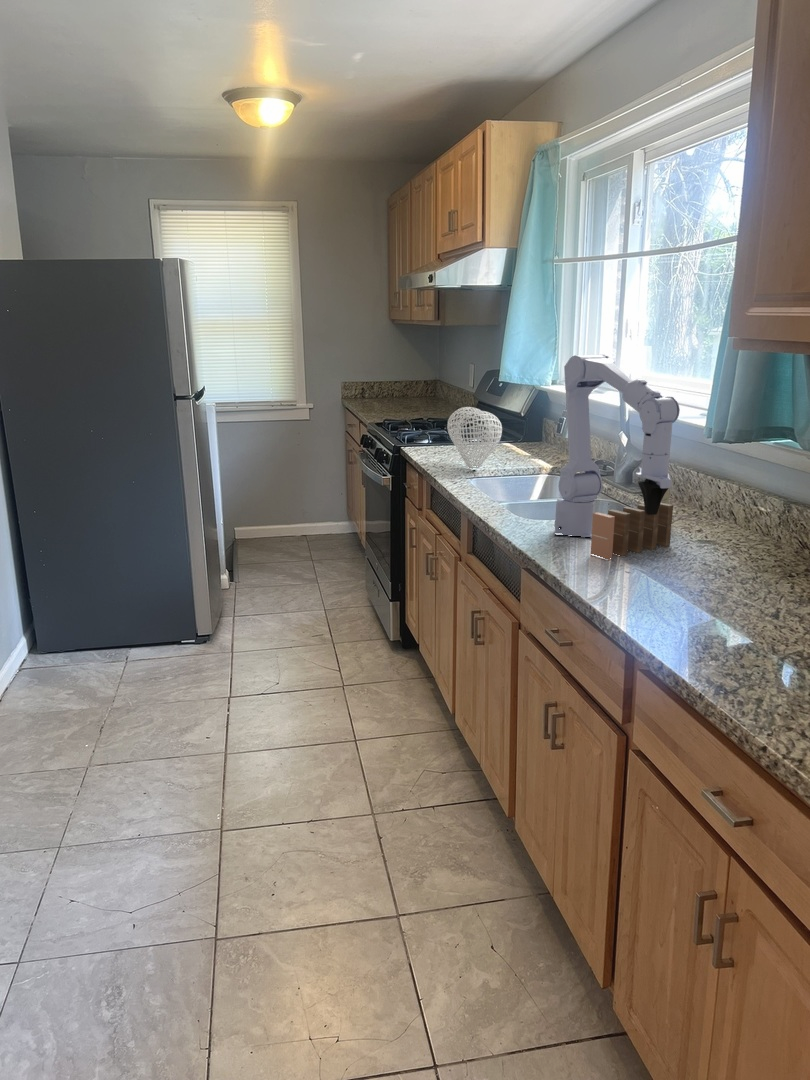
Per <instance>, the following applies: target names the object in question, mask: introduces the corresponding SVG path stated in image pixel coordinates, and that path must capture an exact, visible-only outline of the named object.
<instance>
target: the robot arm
mask: <svg viewBox="0 0 810 1080" xmlns="http://www.w3.org/2000/svg"><path fill="white" fill-rule="evenodd" d="M563 367H564V386H565V387H564V388H565V400H566V402H565V404H566V424H567V444H568V461H567V463H566V464H565V465H564V466H562V468H561V469H560V470H559V471H560V472H559V474H560V476H559V477H560V478H559V480H558V491H559V494H560V496H561V497H562V498H557V499H556V506H555V520H554V534H555V533H562V534H563V535H572V536H581V537H580V538H585V537H592V520H593V513H595V500H597V499H598V496H599V495H600V494H601V493H602V491H603V487H604V484H603V483H604V482H603V478H602V476H601V471H600V467H599V465H597V464H598V463H597V464H596V462H594V461H593V459H592V446H591V445H592V443H591V428H590V427H591V426H590V425H591V423H590V422H591V421H590V401H589V397H590V395H591V393H592V392H593V391H594V390H595V389H597V388H598V387H600V386H601V385H602V384H604V383H606V384H608V385H609V386H611V387H612V388H614V389H615V390H617V391H618V392H620V393H621V395H622V400H623V402H625V404H627V405H628V406H630V407H631V408H632V409H634V410H635V412H637V413H638V414H639V418H640V421H641V424H642V425H641V427H642V428H641V430H642V432H643V442H642V443H643V445H642V455H641V465H640V466H641V467H638V472H635V477H637V478H642V479H644V481H638V483H637V484H638V487H639V489H640V491H641V494H642V495H641V496H642V499H643V504H644V506H645V512H646V514H648V515H656V514H657V512H658V509H659V506H660V503H661V501H662V498H663V496H664V494H665V493H666V491H667V490H668V489H669V488H670V489H671V488H672V479H670V473H669V468H670V466H669V465H670V455H671V446H672V445H671V444H672V434H673V433H672V432H673V423H675V422H676V421H677V420H678V418H679V415H680V405H679V402H678V401H677V400H676V399H675V398H674V396H663V395H662V394H661V392H660V391H658V390H655V389H654V388H652V387H650V385H648V381H647V380H645V379H635V380H634V379H631V378H630V377H629V376H628V375H627V374H626V373H625V372H624V371H622V369H620V368H619V367H618V366H617V365H616V364H615V360H614V359H613V358H611V357H610V356H609V355H607V354H600V355H595V354H594V355H578V354H577V355H573V356H570V358H569V359H568V361H567V362H566V364H565V365H564V366H563ZM559 528H560V529H559Z"/></svg>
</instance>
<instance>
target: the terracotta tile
mask: <svg viewBox="0 0 810 1080" xmlns="http://www.w3.org/2000/svg"><path fill="white" fill-rule="evenodd" d="M614 521H615V516H611V515H608V513H603V512H599V511H597V512H594V513H593V520H592V537H591V538H590V541H591V542H590V554H594V555H597V556H600V557H603V558H605V559H610V558H612V559H613V554H612V550H613V535H614Z"/></svg>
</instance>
